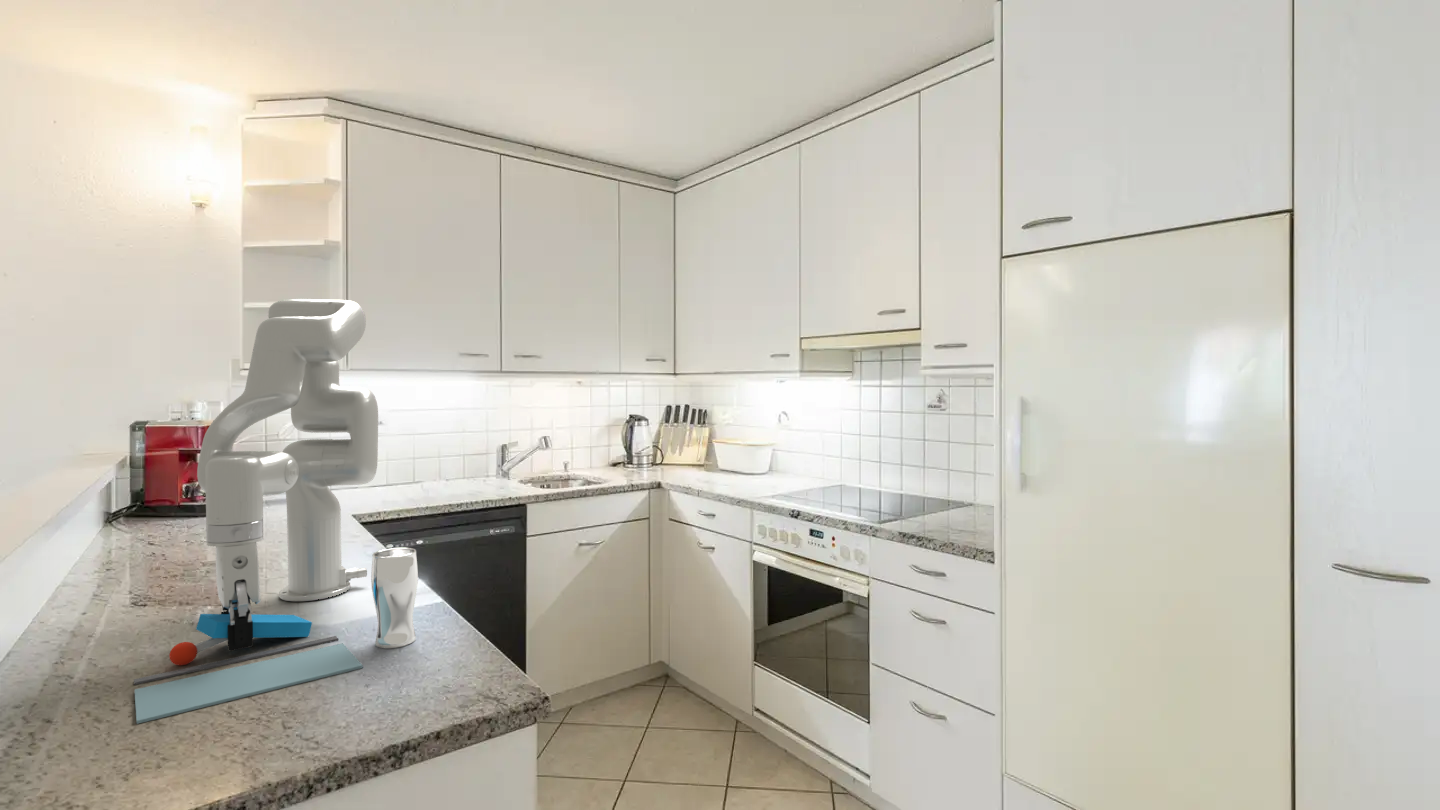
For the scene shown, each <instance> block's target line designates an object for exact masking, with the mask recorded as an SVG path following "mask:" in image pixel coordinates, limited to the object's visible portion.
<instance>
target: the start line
mask: <svg viewBox="0 0 1440 810" xmlns="http://www.w3.org/2000/svg"><path fill="white" fill-rule="evenodd" d="M335 640H337V641H339V637H338V636H337V635H334V636H329V637H325V638H320V639H315V640H311V641H310V640H309V641H306V642H302V643H301V642H300V643H296V644H291V645H287V646H283V647H279V648H274V649H268V650H263V651H260V652H254V653H251V654H250V653H249V654H246V655H245V654H244V655H241V656H236V657H231V658H227V659H221V660H217V661H213V662H209V663H204V664H199V665H194V666H189V667H184V668H180V669H179V668H178V669H176V670H171V671H167V672H162V673H157V674H156V673H155V674H152V675H148V676H147V675H146V676H143V677H142V676H141V677H138V678H134V679H133V686H136V685H141V684H145V683H149V682H153V681H158V680H162V679H167V678H168V679H169V678H171V677H173V678H174V677H177V676H180V675H185V674H190V673H195V672H199V671H203V670H204V671H205V670H208V669H214V668H219V667H222V666H227V665H231V664H232V665H233V664H235V663H240V662H244V661H250V660H254V659H260V658H264V657H268V656H271V655H278V654H282V653H287V652H290V651H296V650H299V649H305V648H308V647H313V646H318V644H319V645H323V644H326V642H328V643H331V642H330V641H332V642H336V641H335ZM322 643H323V644H322Z"/></svg>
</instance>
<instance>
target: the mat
mask: <svg viewBox="0 0 1440 810" xmlns="http://www.w3.org/2000/svg"><path fill="white" fill-rule="evenodd" d="M363 666H364V665H363V664H362V663H361V662H360V661H359V660H358V658H357V657H356V656H355V655H354V654H353V653H352V651H350V649H348V647H347V646H346V645H345V644H344V643H337V644H333V645H328V646H324V647H319V648H315V649H312V650H306V651H302V652H298V653H294V654H288V655H284V656H279V657H276V658H270V659H266V660H262V661H258V662H257V661H256V662H251V663H247V664H243V665H239V666H234V667H230V668H225V669H221V670H216V671H212V672H207V673H203V674H198V675H193V676H190V677H185V678H181V679H175V680H170V681H166V682H162V683H159V684H158V683H157V684H153V685H149V686H144V687H139V688H135V689H134V701H135V702H134V706H135V718H136V724H137V725H139V724H141V723H147V722H150V721H155V720H158V719H159V720H160V719H161V718H165V717H170V716H175V715H179V714H182V713H186V712H191V711H195V710H198V709H202V708H206V707H210V706H215V705H218V704H223V703H226V702H227V703H228V702H230V701H235V700H239V699H243V698H247V697H251V696H255V695H258V694H262V693H263V694H264V693H267V692H271V691H276V690H279V689H283V688H287V687H291V686H295V685H299V684H304V683H307V682H311V681H315V680H319V679H324V678H327V677H331V676H332V677H333V676H335V675H340V674H344V673H347V672H348V673H349V672H352V671H354V670H360V669H363V668H364V667H363Z"/></svg>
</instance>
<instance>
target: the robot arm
mask: <svg viewBox="0 0 1440 810" xmlns="http://www.w3.org/2000/svg"><path fill="white" fill-rule="evenodd" d="M267 313H268V315H267V316H268V318H267V319H264V321H262V322H261V323H260V324H259V326H258V328H257V330H256V334H255V339H254V343H253V348H252V353H251V358H250V361H249V362H250V363H249V367H248V372H247V378H246V382H245V388H244V391H242V394H241V395H240V396H239V397H237V398H236V399H234V400H233V401H232V402H231V403H229V405H227V406H226V407H225V408H224V409H222V411H220V413H219V414H218V415H217V416H216V417H215V418H214V420H213V421H212V422H211V423H210V425H209V427H208V428H207V429H206V432H205V434H204V437H203V440H202V443H201V449H200V453H199V457H198V462H197V469H196V470H197V471H196V472H197V473H196V476H197V483H198V485H199V487H200V489H201V490H202V491H204V493H205V520H206V521H205V523H206V524H205V527H206V528H205V529H206V530H205V531H206V533H205V537H206V541H205V542H206V543H205V544H206V546H208V547H214V548H215V574H216V575H215V576H216V579H215V580H216V589H217V597H218V599H219V602H220V603H221V610H222V611H220V614H229V619H230V625H228V640H227V649H228V651H230V652H231V651H237V650H242V649H246V648H247V649H248V648H251V647H253V645H254V638H253V621H252V616H251V614H252V608H251V607H252V606H251V602H252V603H253V604H255V605H257V604H260V603H261V602H262V601H261V599H262V597H261V584H260V583H261V582H260V563H259V562H260V561H259V550H258V543H257V542H261V541H263V540H264V496H269V495H270V496H271V495H274V496H275V495H280V494H284V493H285V500H286V528H287V529H286V530H287V531H286V535H287V536H286V537H287V539H286V540H287V586H285V587H283V588H281V589H280V591H279V592H278V593H279V594H278V596H279V599H281V600H283V601H287V602H310V601H311V602H312V601H318V599H319V600H324V599H329V598H333V597H336V595H337V596H340V595H341V593H342V594H344V593H343V592H345V593H346V592H348V591H349V590H350V589H351V582H350V581H351V580H352V579H360V578H366V577H368V568H367V567H362V568H358V567H353V568H345V567H344V566H343V565H342V516H341V515H342V514H341V511H342V510H341V504H340V502H339V500H338V497H336V495H335V494H334V492H333V491H332V490H331V488H329V487H332V486H336V487H337V486H359V485H366V484H369V483H371V482H372V480H373V479H374V478H375V476H376V473H377V470H378V459H379V458H378V456H379V452H378V449H379V407H378V402H377V398H376V397H375V395H374V393H373V392H372V391H371V390H370V389H368V388H366V387H363V386H340V363H339V361H340V360H341V359H343V358H344V357H345V356H347V354H348V353H349V352H351V350H352V349H353V348H354V347H355V346H356V345H357V344H358V343H359V341H360V340H361V339H362V337H363V335H364V334H365V331H366V325H367V324H366V323H367V319H366V314H365V312H364V309H363V308H362V306H361V305H360V304H359V303H357V302H356V301H353V300H347V299H345V300H344V299H314V298H313V299H311V298H308V299H307V298H291V299H290V298H289V299H282V300H278V301H276V302H273V303H272V304H271V305H270V306H269V308H268V312H267ZM289 409H290V419H291V423H292V426H293V427H294V428H295V429H296V430H298V431H300V432H304V433H311V434H312V433H315V434H316V433H317V434H323V433H325V434H327V433H328V434H331V433H332V434H336V433H337V434H338V433H341V434H342V433H348V434H349V437H350V439H348V438H347V439H345V438H344V439H343V438H341V439H333V438H327V439H325V438H322V439H321V438H319V439H318V438H316V439H313V438H312V439H302V440H296V441H294V442H291V443H289V444H288V445H287V446H285V447H284V449H282V451H278V450H277V451H276V450H275V451H274V450H270V451H269V450H267V451H265V450H261V451H259V450H249V451H248V450H244V451H243V450H242V451H240V450H239V451H235V450H234V451H232V449H233V446H234V444H235V442H236V440H237V439H238V438H239V436H240V435H241V434H242V433H243V432H245V431H246V430H247V429H248V428H250V427H251V426H253V425H254V424H257V423H258V422H260V421H262V420H265V419H267V418H270V417H272V416H275V415H277V414H279V413H282V412H284V411H286V410H289ZM347 590H348V591H347ZM339 594H340V595H339ZM332 596H333V597H332ZM328 597H329V598H328Z"/></svg>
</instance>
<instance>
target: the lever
mask: <svg viewBox="0 0 1440 810" xmlns="http://www.w3.org/2000/svg"><path fill="white" fill-rule="evenodd" d="M251 616H252V621H253V639H254V638H257V639H258V638H260V639H261V638H309V637H310V632H311V629H312V625H313V621H311V620H307V619H305V618H303V617H301V616H299V615H295V614H258V613H257V614H252V613H251ZM228 625H230V619H229V614H221V613H200V614H199V617H198V621H197V625H196V629H195V630H197V631H198V632H199V633H200V632H201V633H203V635H206V636H208V637H210V638H208V639H206V640H204V641H202V642H199V643H196V644H195V643H193V642H190V641H183V642H179V643H177V644H175V646H173V647H172V648H171V650H170V653H169V657H168V658H169V660H170V662H171V663H172V664H174V665H176V666H185V665H188V664H190V663H192V662H193V661H194V660H195V659H196V657H197V655H198V653H199V652H201V651H204V650H206V649H209V648H211V647H214V646H217V645H220V644H221V643H224V642H228ZM308 636H309V637H308Z"/></svg>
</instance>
